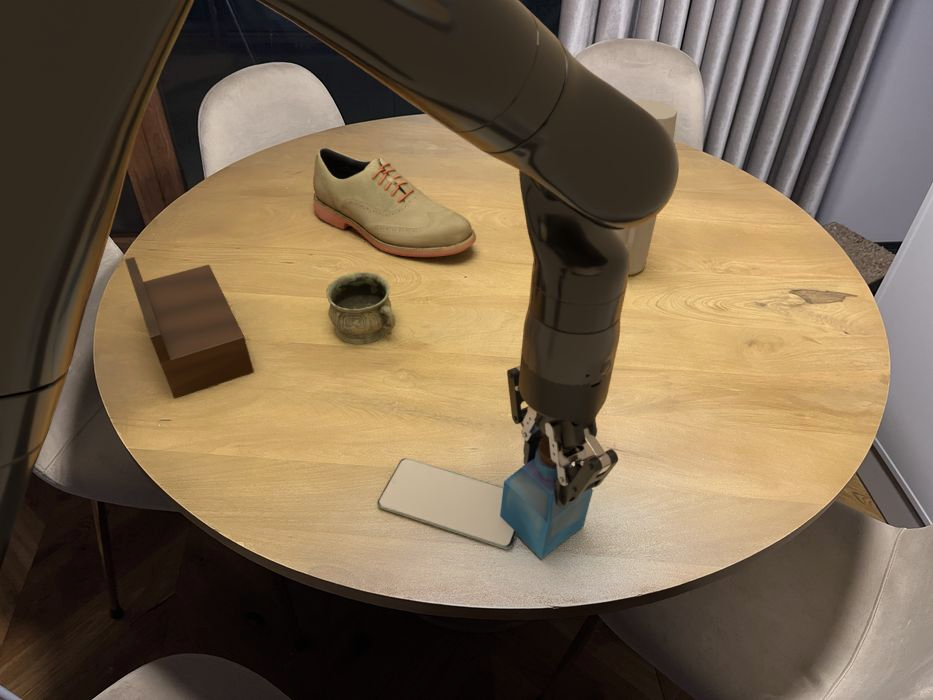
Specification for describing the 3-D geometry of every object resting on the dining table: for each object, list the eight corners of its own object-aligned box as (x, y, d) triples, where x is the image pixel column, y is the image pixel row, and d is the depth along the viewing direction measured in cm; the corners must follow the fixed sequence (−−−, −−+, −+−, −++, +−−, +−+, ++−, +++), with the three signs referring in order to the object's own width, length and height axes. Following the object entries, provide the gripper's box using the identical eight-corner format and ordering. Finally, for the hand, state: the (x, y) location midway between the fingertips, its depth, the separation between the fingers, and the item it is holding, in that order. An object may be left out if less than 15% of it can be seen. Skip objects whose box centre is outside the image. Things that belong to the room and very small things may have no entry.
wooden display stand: (253, 372, 87) (237, 311, 81) (174, 398, 84) (150, 337, 77) (218, 298, 99) (202, 239, 92) (147, 318, 95) (124, 259, 89)
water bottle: (597, 249, 110) (623, 96, 94) (646, 254, 109) (681, 101, 93) (595, 282, 103) (623, 123, 87) (648, 287, 102) (685, 128, 86)
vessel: (415, 325, 95) (413, 288, 91) (375, 360, 89) (372, 323, 85) (350, 296, 100) (345, 260, 96) (308, 327, 94) (301, 291, 90)
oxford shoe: (454, 277, 104) (454, 210, 96) (293, 222, 115) (281, 158, 107) (488, 243, 111) (491, 178, 103) (334, 195, 122) (326, 133, 115)
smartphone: (510, 548, 68) (375, 504, 71) (510, 551, 68) (375, 507, 72) (530, 495, 73) (402, 456, 76) (529, 498, 73) (402, 459, 77)
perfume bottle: (542, 488, 74) (555, 412, 66) (583, 526, 70) (603, 451, 62) (499, 517, 71) (508, 442, 63) (540, 559, 67) (555, 485, 59)
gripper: (483, 315, 58) (478, 446, 69) (584, 424, 49) (559, 554, 60) (555, 290, 61) (539, 420, 72) (663, 388, 51) (626, 520, 63)
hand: (548, 480), depth 66 cm, fingers closed on perfume bottle, 4 cm apart
